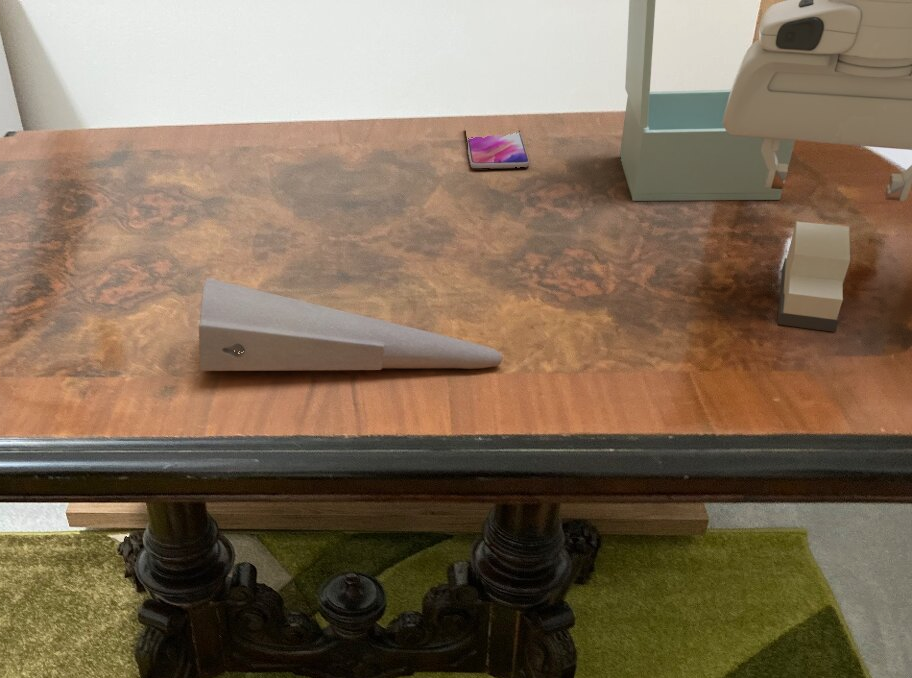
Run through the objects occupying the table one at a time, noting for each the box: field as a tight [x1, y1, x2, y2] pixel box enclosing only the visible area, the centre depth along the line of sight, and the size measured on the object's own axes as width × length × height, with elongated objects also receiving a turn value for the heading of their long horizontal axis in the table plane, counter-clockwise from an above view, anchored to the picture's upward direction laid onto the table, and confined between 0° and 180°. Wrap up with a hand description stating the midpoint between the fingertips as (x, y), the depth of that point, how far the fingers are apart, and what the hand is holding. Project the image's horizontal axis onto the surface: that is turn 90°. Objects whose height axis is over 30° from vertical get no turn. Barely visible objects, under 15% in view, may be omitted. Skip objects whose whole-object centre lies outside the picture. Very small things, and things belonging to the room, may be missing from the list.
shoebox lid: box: [624, 0, 656, 128], centre depth 99 cm, size 16×14×5 cm
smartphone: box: [467, 132, 530, 169], centre depth 119 cm, size 7×1×15 cm
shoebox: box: [619, 89, 796, 202], centre depth 105 cm, size 16×14×8 cm
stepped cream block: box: [777, 221, 851, 333], centre depth 83 cm, size 11×5×5 cm, turn 157°
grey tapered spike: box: [198, 277, 503, 372], centre depth 81 cm, size 8×9×26 cm
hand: (833, 192), depth 80 cm, fingers open, 8 cm apart
